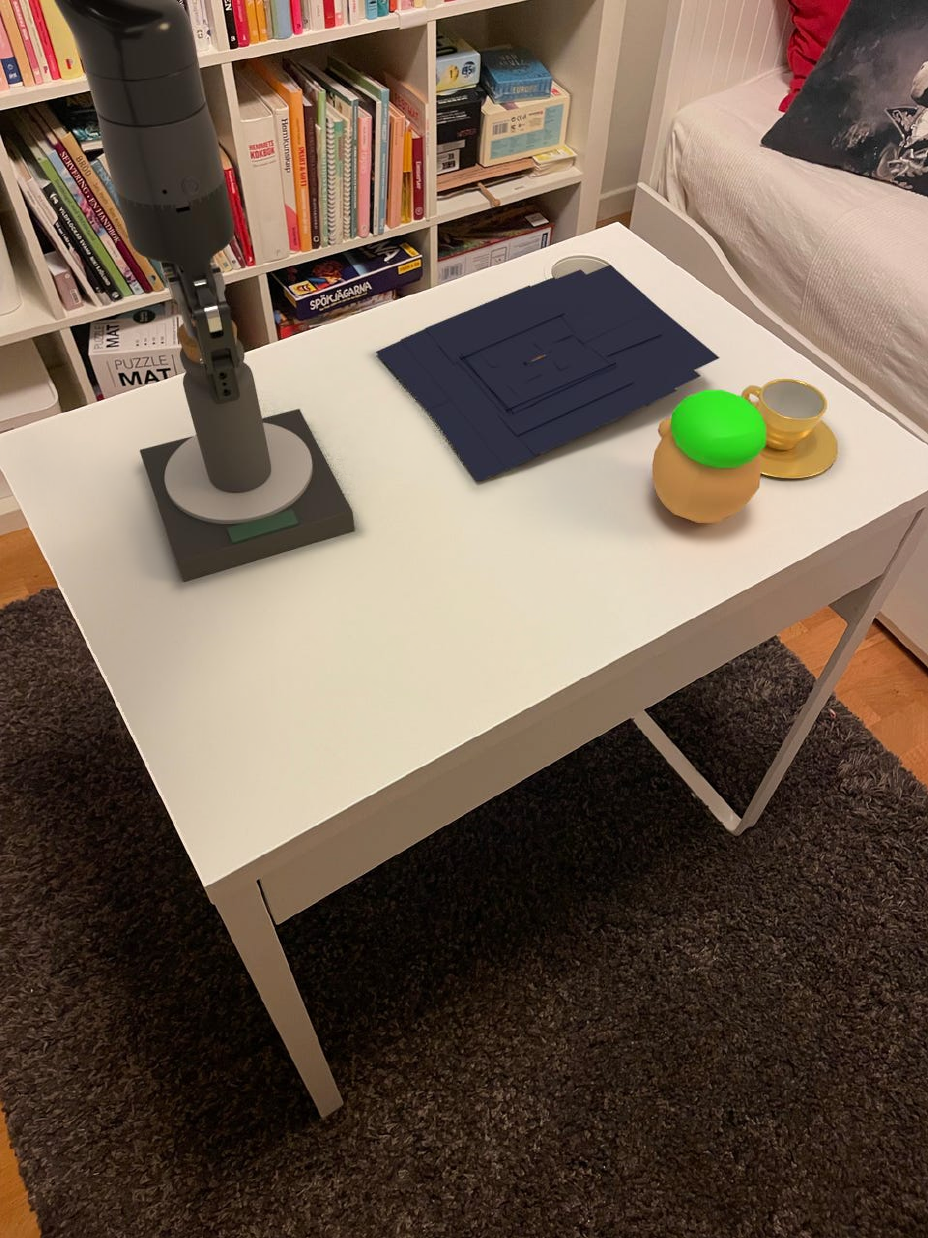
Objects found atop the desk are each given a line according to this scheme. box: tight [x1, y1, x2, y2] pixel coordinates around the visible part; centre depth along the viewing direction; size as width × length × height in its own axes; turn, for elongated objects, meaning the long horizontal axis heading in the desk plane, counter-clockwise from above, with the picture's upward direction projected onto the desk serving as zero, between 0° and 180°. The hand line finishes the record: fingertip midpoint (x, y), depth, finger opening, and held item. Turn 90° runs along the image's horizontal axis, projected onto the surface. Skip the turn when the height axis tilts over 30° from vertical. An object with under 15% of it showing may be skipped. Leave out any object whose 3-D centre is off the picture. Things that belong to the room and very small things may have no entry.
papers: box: [375, 264, 720, 482], centre depth 97 cm, size 24×30×4 cm
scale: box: [139, 408, 355, 582], centre depth 84 cm, size 16×16×3 cm
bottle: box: [176, 319, 271, 493], centre depth 77 cm, size 6×6×15 cm
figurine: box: [651, 389, 766, 524], centre depth 81 cm, size 11×10×12 cm
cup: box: [740, 378, 839, 479], centre depth 89 cm, size 12×12×5 cm
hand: (216, 377), depth 75 cm, fingers closed on bottle, 5 cm apart
